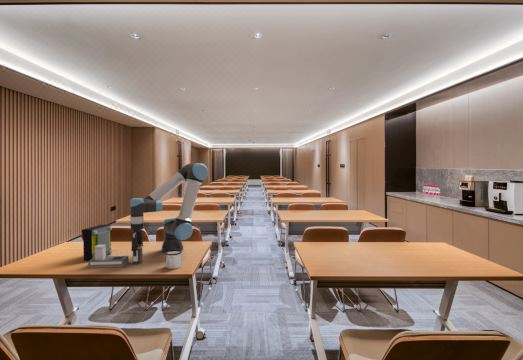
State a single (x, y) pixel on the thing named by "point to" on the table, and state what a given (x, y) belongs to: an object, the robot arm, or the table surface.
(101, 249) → the white rectangular block
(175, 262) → the mug
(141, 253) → the plug
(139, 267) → the table surface
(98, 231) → the electrical component
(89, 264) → the pdu strip
